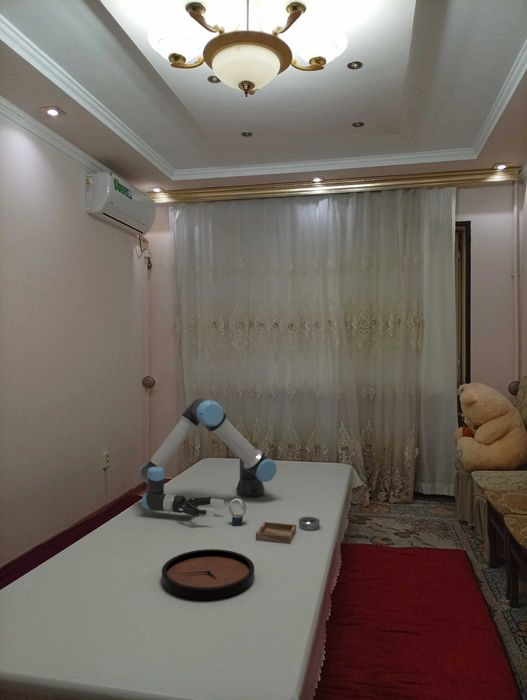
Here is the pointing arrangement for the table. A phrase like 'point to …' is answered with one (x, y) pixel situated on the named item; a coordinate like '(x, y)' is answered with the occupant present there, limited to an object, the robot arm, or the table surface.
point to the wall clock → (207, 575)
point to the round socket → (309, 523)
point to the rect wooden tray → (276, 532)
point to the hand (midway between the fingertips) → (219, 507)
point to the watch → (238, 519)
